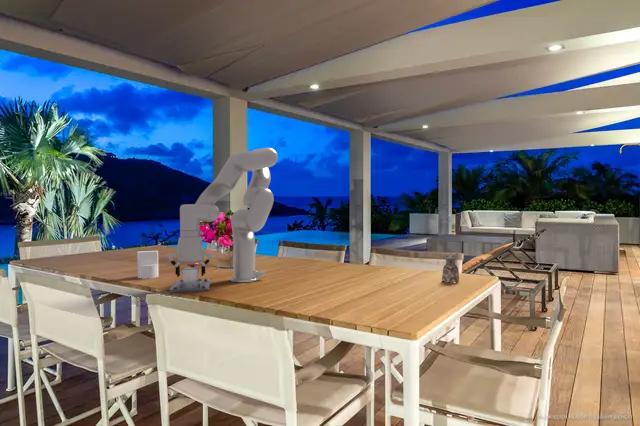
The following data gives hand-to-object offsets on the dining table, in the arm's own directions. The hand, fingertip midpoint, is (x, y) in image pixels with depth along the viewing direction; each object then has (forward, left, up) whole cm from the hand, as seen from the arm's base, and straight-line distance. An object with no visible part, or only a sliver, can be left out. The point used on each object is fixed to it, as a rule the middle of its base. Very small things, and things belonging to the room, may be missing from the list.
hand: (190, 275), depth 184 cm
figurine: (-110, +10, -5) cm, 111 cm away
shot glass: (0, 0, -4) cm, 4 cm away
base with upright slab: (+22, -29, -5) cm, 37 cm away
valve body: (0, -2, -5) cm, 5 cm away
